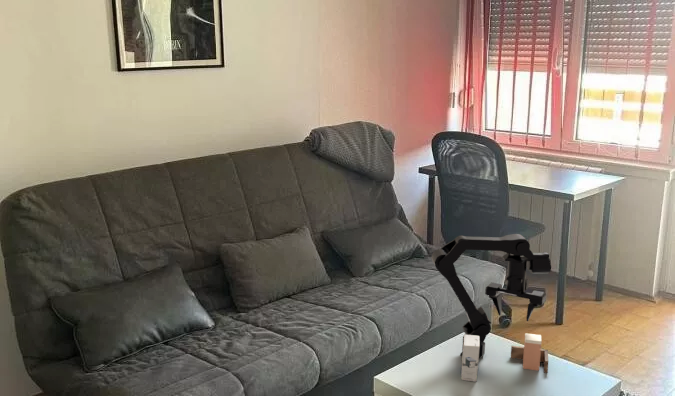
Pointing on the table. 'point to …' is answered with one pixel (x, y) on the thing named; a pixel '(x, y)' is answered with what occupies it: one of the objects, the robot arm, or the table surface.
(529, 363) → the pink tall block
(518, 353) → the walnut corner walls
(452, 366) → the table surface
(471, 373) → the ink box
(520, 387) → the table surface
